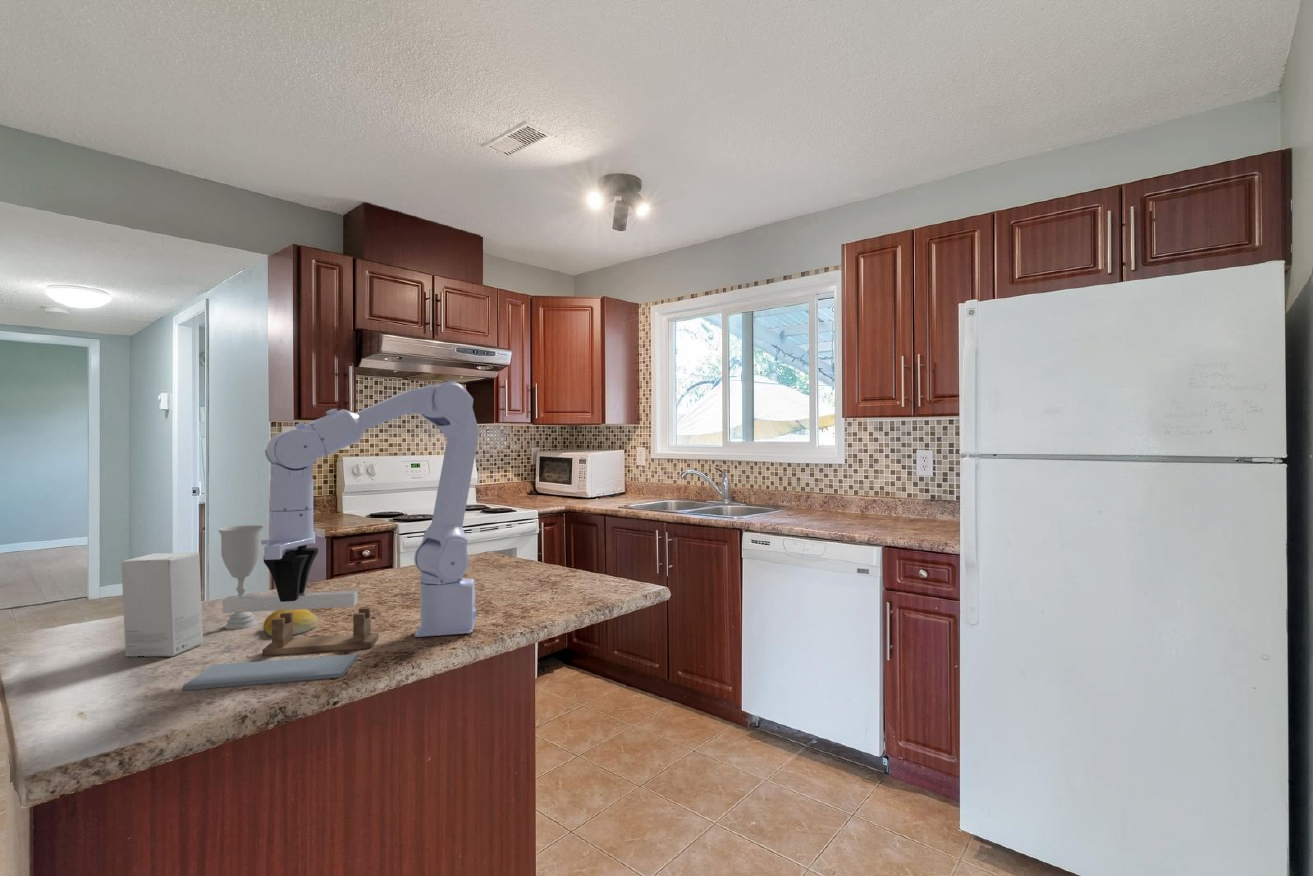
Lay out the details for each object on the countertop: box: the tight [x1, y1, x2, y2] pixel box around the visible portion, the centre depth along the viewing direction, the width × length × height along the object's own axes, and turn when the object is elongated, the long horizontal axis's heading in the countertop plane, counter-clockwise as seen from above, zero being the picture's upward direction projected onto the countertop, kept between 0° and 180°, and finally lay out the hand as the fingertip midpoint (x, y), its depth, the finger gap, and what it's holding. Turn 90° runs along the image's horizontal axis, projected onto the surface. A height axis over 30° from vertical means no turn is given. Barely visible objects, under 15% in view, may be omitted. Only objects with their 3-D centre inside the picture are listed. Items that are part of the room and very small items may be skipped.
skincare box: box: [120, 551, 204, 658], centre depth 99 cm, size 8×7×16 cm
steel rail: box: [222, 590, 359, 614], centre depth 93 cm, size 18×2×2 cm, turn 101°
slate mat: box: [182, 653, 358, 691], centre depth 89 cm, size 20×8×1 cm, turn 102°
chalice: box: [217, 525, 264, 630], centre depth 113 cm, size 7×7×18 cm
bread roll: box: [262, 609, 319, 637], centre depth 110 cm, size 8×9×4 cm
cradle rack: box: [262, 607, 380, 657], centre depth 100 cm, size 16×5×6 cm, turn 102°
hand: (291, 598), depth 93 cm, fingers closed on steel rail, 2 cm apart
